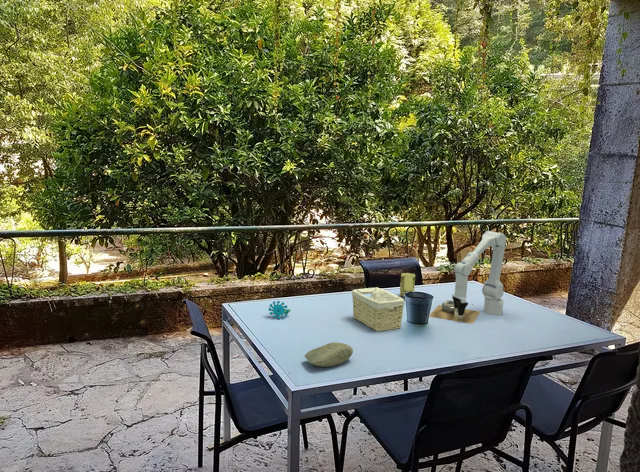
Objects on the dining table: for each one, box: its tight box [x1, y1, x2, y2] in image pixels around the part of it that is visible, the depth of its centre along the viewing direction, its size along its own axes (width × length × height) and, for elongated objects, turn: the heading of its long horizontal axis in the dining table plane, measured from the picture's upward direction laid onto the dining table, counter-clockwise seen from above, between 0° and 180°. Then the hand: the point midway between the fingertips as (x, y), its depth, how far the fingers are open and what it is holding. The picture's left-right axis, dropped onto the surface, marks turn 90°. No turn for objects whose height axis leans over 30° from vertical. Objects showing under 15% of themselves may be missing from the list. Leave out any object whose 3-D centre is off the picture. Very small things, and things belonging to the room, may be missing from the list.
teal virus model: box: [268, 300, 292, 320], centre depth 257 cm, size 11×6×10 cm
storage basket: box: [351, 286, 406, 332], centre depth 251 cm, size 24×16×15 cm
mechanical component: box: [399, 272, 416, 297], centre depth 300 cm, size 8×17×20 cm, turn 174°
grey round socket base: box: [441, 299, 465, 314], centre depth 274 cm, size 12×12×4 cm
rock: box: [304, 342, 354, 368], centre depth 202 cm, size 8×11×20 cm
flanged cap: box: [454, 308, 463, 319], centre depth 262 cm, size 5×5×4 cm
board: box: [428, 304, 482, 325], centre depth 270 cm, size 22×24×1 cm
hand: (458, 313), depth 262 cm, fingers open, 7 cm apart
